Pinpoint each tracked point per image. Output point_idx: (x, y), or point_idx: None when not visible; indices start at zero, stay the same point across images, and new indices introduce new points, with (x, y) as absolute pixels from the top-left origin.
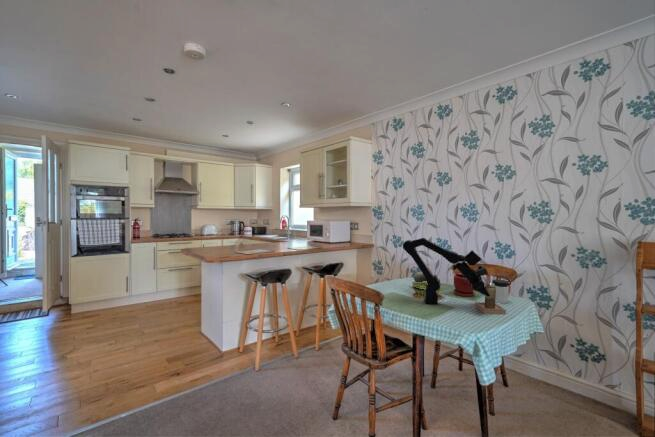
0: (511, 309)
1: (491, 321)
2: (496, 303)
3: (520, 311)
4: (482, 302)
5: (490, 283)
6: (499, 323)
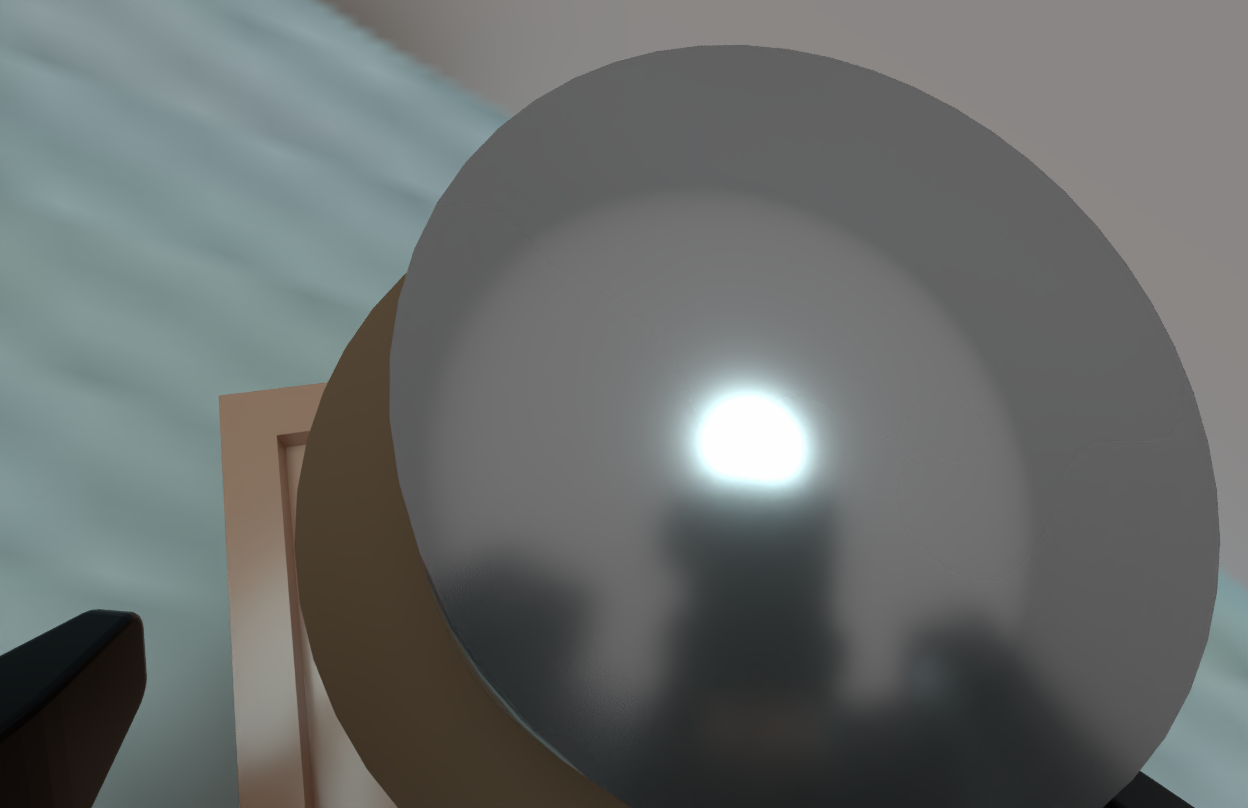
0: (359, 175)
1: (1215, 747)
2: (270, 390)
3: (445, 80)
4: (242, 785)
5: (907, 432)
6: (1227, 622)
